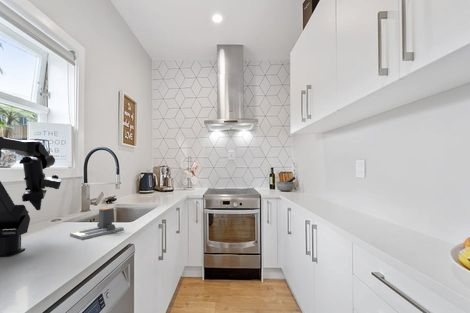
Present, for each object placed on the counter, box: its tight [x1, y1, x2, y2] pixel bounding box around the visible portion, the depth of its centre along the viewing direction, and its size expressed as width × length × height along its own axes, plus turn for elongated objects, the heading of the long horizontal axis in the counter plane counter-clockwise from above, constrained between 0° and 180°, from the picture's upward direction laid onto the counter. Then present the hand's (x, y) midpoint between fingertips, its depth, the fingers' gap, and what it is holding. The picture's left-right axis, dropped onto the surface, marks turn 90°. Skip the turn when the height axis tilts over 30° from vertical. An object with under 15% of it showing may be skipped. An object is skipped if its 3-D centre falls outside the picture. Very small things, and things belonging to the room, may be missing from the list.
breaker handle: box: [98, 207, 113, 229], centre depth 113 cm, size 4×4×9 cm
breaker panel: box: [69, 222, 125, 241], centre depth 110 cm, size 18×10×3 cm, turn 146°
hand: (38, 209), depth 101 cm, fingers closed
